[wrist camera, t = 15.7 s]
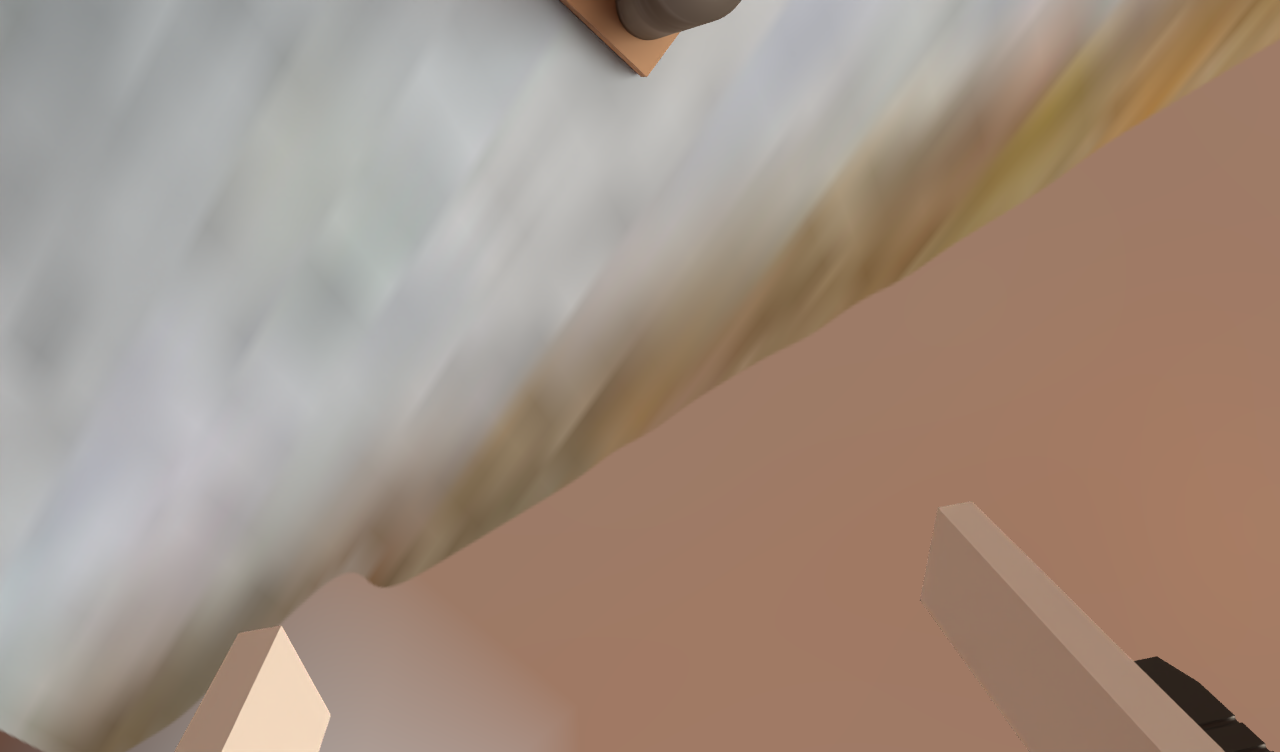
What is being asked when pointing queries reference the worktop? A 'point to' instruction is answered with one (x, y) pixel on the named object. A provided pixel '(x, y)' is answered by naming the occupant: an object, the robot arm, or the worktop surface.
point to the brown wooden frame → (616, 37)
